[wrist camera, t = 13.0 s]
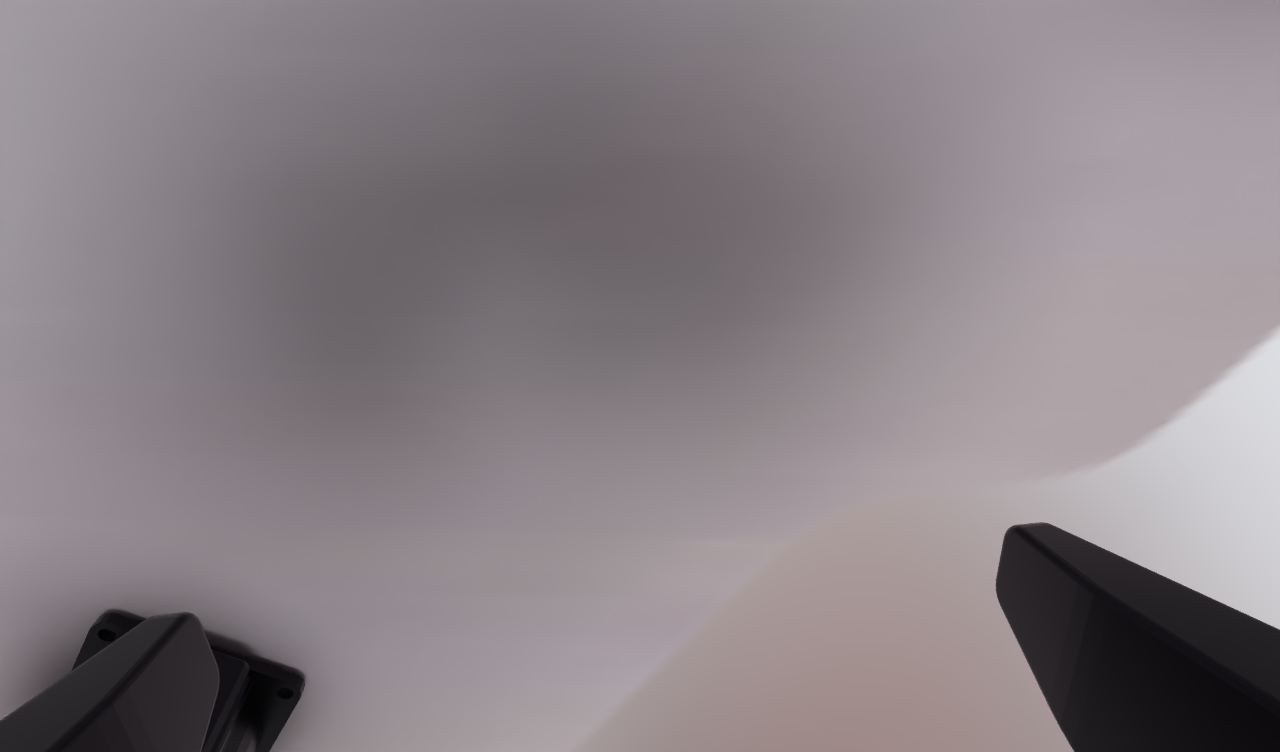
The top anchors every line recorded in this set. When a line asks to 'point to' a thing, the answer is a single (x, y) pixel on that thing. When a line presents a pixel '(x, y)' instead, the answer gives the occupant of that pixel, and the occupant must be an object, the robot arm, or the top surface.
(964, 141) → the top surface
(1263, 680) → the robot arm
